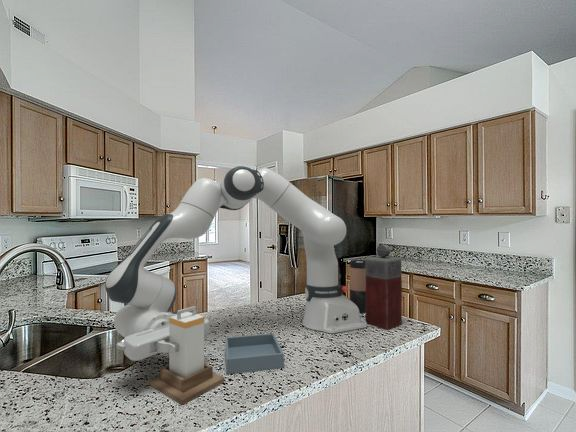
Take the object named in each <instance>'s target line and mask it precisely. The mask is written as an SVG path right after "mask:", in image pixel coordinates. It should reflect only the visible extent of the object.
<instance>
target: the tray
mask: <svg viewBox="0 0 576 432" xmlns="http://www.w3.org/2000/svg"><path fill="white" fill-rule="evenodd" d="M224 341H225V342H224V343H225V344H224V345H225V347H224V348H225V350H224V351H225V353H224V354H225V366H226V375H230V374H231V375H233V374H239V373H240V374H242V373H248V372H249V373H250V372H256V371H257V372H258V371H259V372H260V371H267V370H276V369H284V368H285V361H284V358H285V356H284V355H285V353H284V351H283V349H282V347H281V345H280V343H279V342H278V339H277V337H276V334H275V333H263V334H252V335H241V336H239V335H238V336H229V337H227V336H226V337H225V338H224Z"/></svg>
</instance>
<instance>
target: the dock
mask: <svg viewBox="0 0 576 432" xmlns="http://www.w3.org/2000/svg"><path fill="white" fill-rule="evenodd" d="M213 368H214V366H212V365H210V364H208V363H206V362H204V369H203V370H201V371H199V372H197V373H195V374H193V375H191V376H189V377H187V378H182V377H180V376H178V375H176V374H174V373H172V372H170V371H169V364H168V365H166V366H164V367H161V368H160V374H158V375H155V376H154V377H152V378H149V379H148V380H147V381H148V385H149V386H151V387H152V388H154V389H155V390H157V391H159V392H160V393H162V394H164V395H165V396H166V397H168V398H170V399H172V400H173V401H175V402H176V403H178V404H180V405H182V406H183V405H185V404H188V403H189V402H190V401H193V400H194V399H196V398H198V397H200V396H202V395H204V394H206V393H207V392H209V391H211V390H213V389H215V388H216V387H218V386H220V385H221V384H224V383H225V382H226V381H225V377H224V376H223V375H220V374H218V373H216V372H214V371H213V370H214V369H213Z"/></svg>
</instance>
